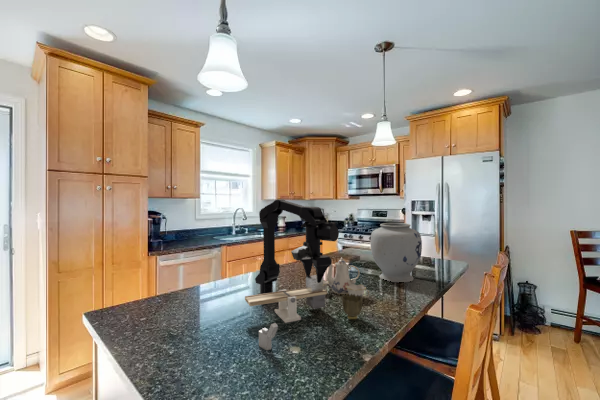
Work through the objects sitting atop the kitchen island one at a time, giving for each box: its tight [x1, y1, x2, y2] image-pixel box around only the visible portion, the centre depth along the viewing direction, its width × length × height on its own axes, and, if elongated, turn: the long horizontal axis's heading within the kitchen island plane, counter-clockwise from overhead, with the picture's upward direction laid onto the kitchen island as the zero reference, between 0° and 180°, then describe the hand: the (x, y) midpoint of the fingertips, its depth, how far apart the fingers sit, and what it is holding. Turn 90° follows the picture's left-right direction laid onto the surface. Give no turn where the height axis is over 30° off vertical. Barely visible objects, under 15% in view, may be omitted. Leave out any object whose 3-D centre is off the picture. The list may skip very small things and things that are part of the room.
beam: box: [244, 287, 328, 310], centre depth 107 cm, size 7×30×6 cm, turn 115°
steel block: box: [305, 274, 324, 293], centre depth 112 cm, size 5×5×5 cm
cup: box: [341, 294, 364, 321], centre depth 103 cm, size 8×7×8 cm
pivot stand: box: [274, 288, 302, 324], centre depth 107 cm, size 12×6×8 cm, turn 25°
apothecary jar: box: [370, 222, 423, 283], centre depth 157 cm, size 27×27×30 cm
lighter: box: [258, 322, 279, 351], centre depth 83 cm, size 7×2×8 cm, turn 45°
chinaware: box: [323, 257, 370, 298], centre depth 132 cm, size 28×17×17 cm, turn 67°
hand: (313, 279), depth 111 cm, fingers open, 9 cm apart
